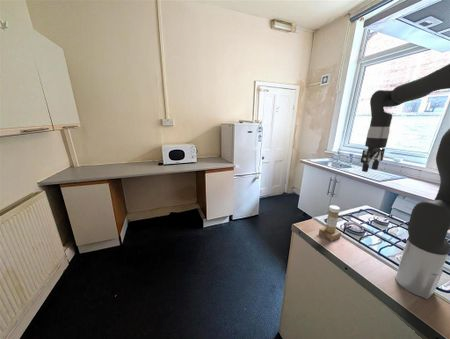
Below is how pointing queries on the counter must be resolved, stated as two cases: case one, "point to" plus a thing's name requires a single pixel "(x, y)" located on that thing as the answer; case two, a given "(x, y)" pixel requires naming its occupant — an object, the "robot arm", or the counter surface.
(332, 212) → the sprinkles bottle
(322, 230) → the walnut block
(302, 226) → the counter surface
